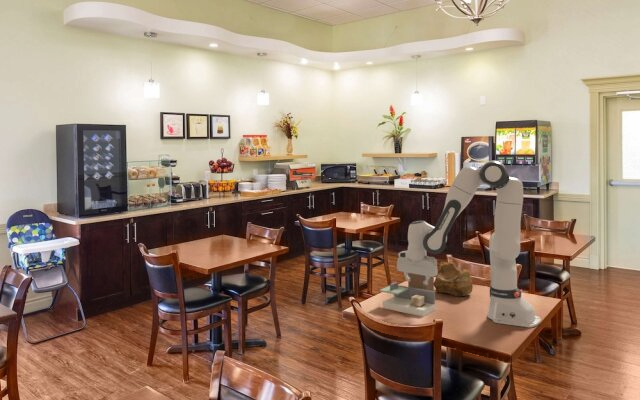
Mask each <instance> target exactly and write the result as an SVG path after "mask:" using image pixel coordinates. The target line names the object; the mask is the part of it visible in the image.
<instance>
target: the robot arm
mask: <svg viewBox="0 0 640 400" xmlns="http://www.w3.org/2000/svg"><path fill="white" fill-rule="evenodd" d="M481 185H488V186H491V187H492V188H495V189H496V199H495V200H496V202H495V208H494V216H493V219H494V221H493V222H494V223H493V224H494V232H493V233H492V234H491V235H490V237H489V241H488V247H489V261H490V286H489V299H490V300H489V305H488V311H487V314H486V317H487V318H488V319H490V320H492V322H493V323H496V324H501V325H508V326H517V327H521V328H522V327H524V328H533V327H536V326H538V325H539V324H540V323H541V317H540V316H537V315H536V310H535V308H534V306H533V305H532V304H531V303H529V301H528V300H526V299H525V298H524V297H523V296H522V293H523V289H520V288H519V287H518V269H517V263H516V259H517V258H518V257H519V255H520V253H521V234H522V233H521V219H522V212H523V205H524V184H523V182H522V180H520V179H519V178H517V177H511V176H510V175H509V173H508V172H507V168H506V167H505V165H504V164H503V163H502V162H500V161H499V160H489V161H487V162H485V163H484V164H483V165H481V166H479V167H473V166H470V165H469V166H468V165H467V166H464V167H462V168H461V169H460V171H458V173H457V175H456V176H455V177H454V179H453V181H452V182H451V184H450V187H449V189H448V191H447V194H446V198H445V202H444V207H443V210H442V212H441V215H440V217H439V218H438V221H437V223H436V224H435V226H434V225H431V224H430V223H428V222H426V220H415V221H412V222H411V223H409V224H408V225H409V226H408V231H407V241H408V245H407V249H405V250H402V251H400V252H398V254H397V255H398V258H397V262H396V270H397V271H398V272H402V273H403V275H404V277H405V281H406V282H409V281H410V277H409V276H408V273H413V274H418V275H424V276H426V280H425V281H423V284H424V285H428V280H429V279H430V277H434V278H436V277H437V275H438V272H439V270H438V260H437V258H435V257H434V256H429V255H427V253H429V254H432V255H439V254H440V253H443V252H444V250H445V249H446V246H447V245H446V244H447V241H448V233H450V230H451V228H452V226H453V225H454V222H455V221H456V219H457V217H458V216H459V215H460V214H461V212H463V211H464V209H466V208H467V206H468V205H469V204H470V202H471V201H472V199H473V197H474V196H475V194H476V192H477V190H478V189H479V187H481Z"/></svg>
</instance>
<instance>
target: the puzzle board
mask: <svg viewBox="0 0 640 400" xmlns="http://www.w3.org/2000/svg"><path fill="white" fill-rule="evenodd" d="M398 287H404V288H408V290H407V291H405V292H402V293H400V294H398V295H396V294H393V295H394V296H392V297H390V298H389V299H386V300H384V301H382V309H387V310H389V311H390V310H391V311H396V312H399V313H400V312H401V313H404V314H410V315H413V316H418V317H423V318H424V317H425V316H427V315H429V314H431V313H432V312H434V311H436V291H435V290H434V291H429V290H423V289H418V288H412V287H408V286H406V285H400V284H398ZM415 295H420V296H424V306H423V307H421V308H419V307H415V306H411V297H413V296H415Z"/></svg>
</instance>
